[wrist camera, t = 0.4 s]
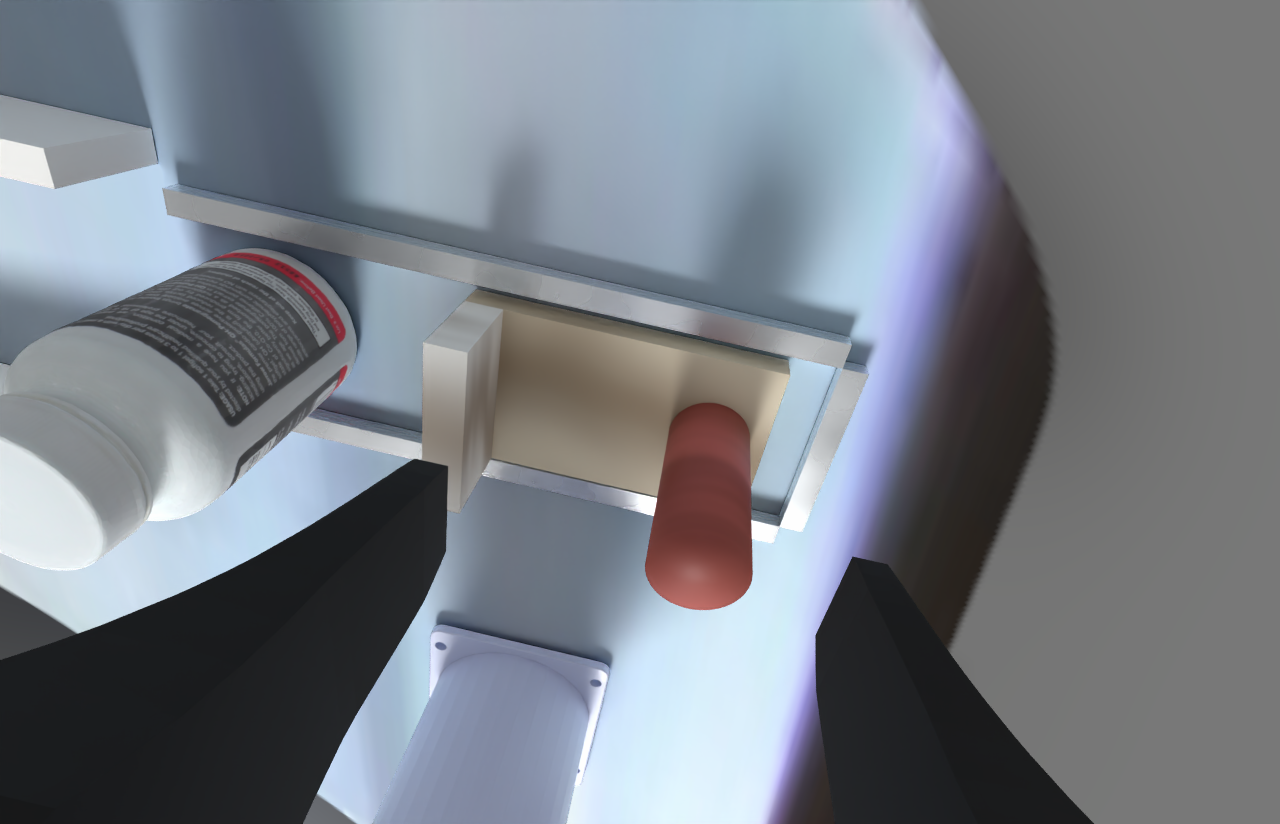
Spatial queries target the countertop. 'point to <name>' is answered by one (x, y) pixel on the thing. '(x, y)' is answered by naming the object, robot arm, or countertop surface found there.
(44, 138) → the frame
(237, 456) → the pill bottle
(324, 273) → the countertop surface
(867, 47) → the countertop surface
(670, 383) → the red peg in tray
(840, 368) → the track
